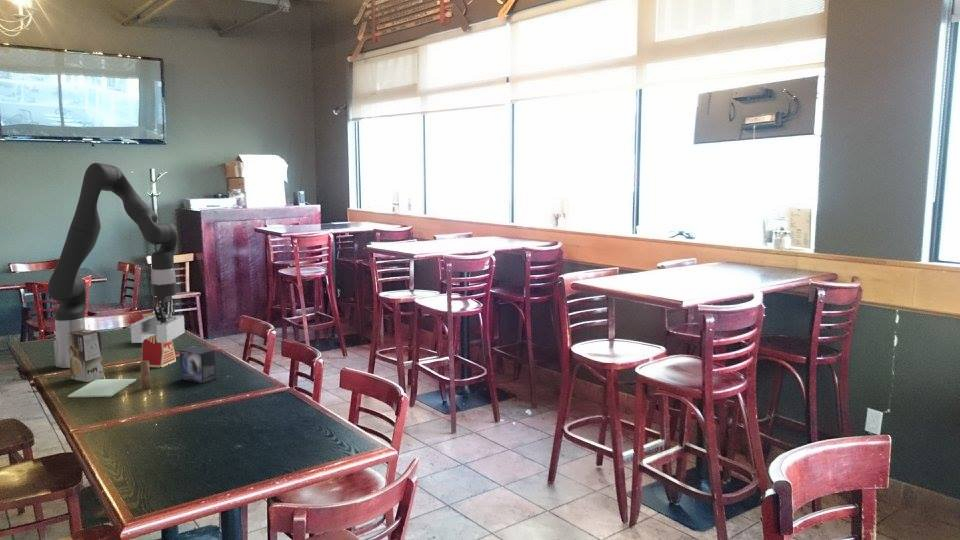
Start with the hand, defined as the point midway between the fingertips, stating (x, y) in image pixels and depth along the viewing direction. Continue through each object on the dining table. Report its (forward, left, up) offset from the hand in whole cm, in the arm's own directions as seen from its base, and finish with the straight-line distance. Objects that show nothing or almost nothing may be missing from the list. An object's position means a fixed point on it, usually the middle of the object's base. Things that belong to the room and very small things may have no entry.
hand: (166, 331), depth 242 cm
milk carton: (-9, +12, -15) cm, 21 cm away
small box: (+13, -9, -15) cm, 22 cm away
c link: (0, -6, -1) cm, 7 cm away
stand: (0, -19, -15) cm, 24 cm away
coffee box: (-25, -6, -15) cm, 29 cm away
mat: (-14, -18, -15) cm, 27 cm away
